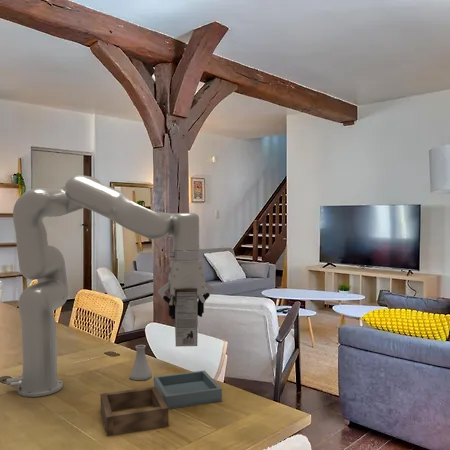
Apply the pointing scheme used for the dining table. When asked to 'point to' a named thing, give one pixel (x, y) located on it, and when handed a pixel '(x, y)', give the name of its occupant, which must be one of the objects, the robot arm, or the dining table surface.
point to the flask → (140, 365)
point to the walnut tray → (135, 418)
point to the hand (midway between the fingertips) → (186, 316)
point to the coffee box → (186, 317)
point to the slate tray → (188, 389)
